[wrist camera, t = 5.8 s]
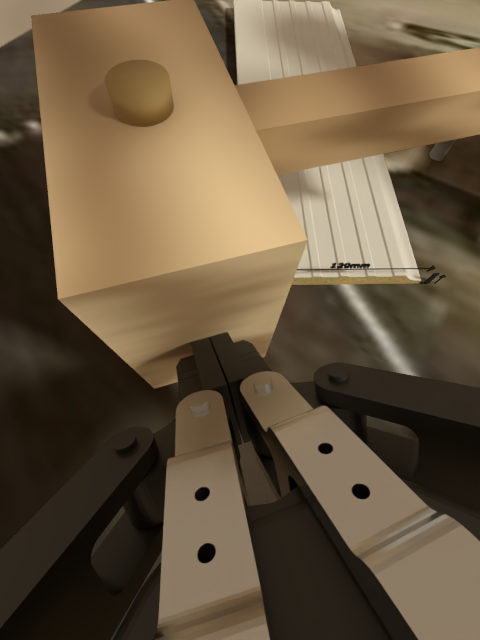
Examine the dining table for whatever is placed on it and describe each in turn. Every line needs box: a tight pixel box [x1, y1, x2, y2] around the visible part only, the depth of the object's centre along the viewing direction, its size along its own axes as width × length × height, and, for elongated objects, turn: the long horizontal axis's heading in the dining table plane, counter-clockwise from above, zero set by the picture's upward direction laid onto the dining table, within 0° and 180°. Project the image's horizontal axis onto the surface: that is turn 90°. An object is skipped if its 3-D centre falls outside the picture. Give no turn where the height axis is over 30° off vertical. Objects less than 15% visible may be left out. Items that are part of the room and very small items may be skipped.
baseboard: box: [234, 0, 446, 285], centre depth 24 cm, size 31×3×12 cm
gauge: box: [31, 0, 480, 389], centre depth 15 cm, size 18×12×11 cm, turn 107°
